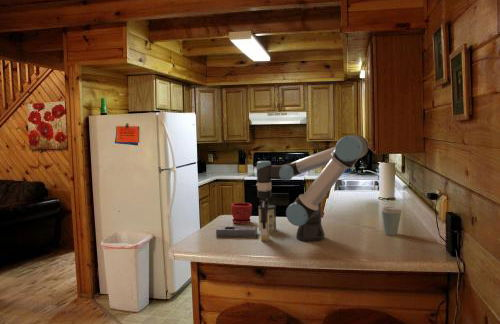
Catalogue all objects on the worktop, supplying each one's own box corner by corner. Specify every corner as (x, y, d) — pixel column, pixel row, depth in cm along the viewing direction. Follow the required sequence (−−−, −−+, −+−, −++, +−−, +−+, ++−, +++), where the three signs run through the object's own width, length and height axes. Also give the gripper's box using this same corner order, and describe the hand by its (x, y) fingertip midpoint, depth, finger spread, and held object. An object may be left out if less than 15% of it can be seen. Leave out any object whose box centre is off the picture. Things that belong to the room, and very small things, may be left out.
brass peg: (269, 239, 229) (268, 211, 228) (268, 241, 225) (268, 213, 224) (262, 238, 230) (261, 211, 228) (261, 240, 226) (260, 213, 224)
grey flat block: (257, 233, 241) (257, 226, 241) (255, 237, 233) (255, 230, 233) (219, 233, 244) (219, 226, 244) (216, 236, 236) (216, 229, 236)
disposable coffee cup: (386, 230, 240) (387, 204, 239) (405, 233, 232) (405, 207, 231) (377, 234, 233) (377, 207, 231) (396, 237, 225) (396, 210, 224)
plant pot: (243, 225, 260) (243, 206, 259) (227, 223, 268) (226, 204, 267) (256, 221, 271) (256, 203, 270) (240, 219, 279) (239, 201, 278)
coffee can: (266, 226, 256) (266, 203, 255) (279, 229, 249) (279, 205, 248) (255, 230, 249) (254, 206, 248) (268, 232, 242) (267, 208, 241)
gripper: (259, 187, 235) (260, 228, 237) (254, 193, 216) (255, 237, 218) (272, 187, 234) (273, 228, 236) (269, 193, 215) (270, 237, 217)
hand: (265, 232), depth 227 cm, fingers open, 6 cm apart
